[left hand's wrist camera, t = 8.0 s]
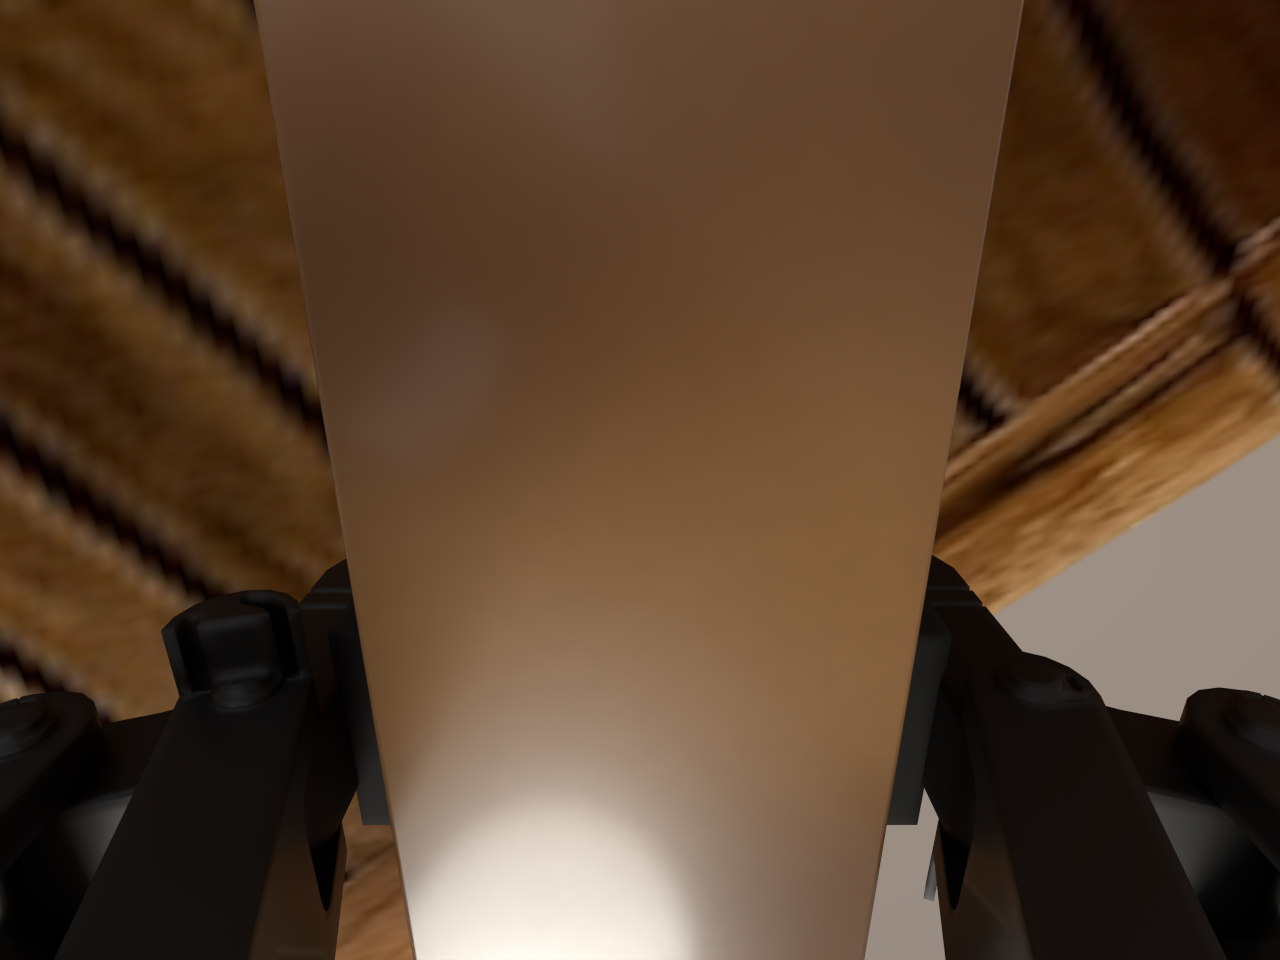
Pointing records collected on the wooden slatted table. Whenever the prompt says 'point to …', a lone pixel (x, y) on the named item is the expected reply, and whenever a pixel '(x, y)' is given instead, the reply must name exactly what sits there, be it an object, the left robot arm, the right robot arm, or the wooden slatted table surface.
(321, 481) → the wooden slatted table surface
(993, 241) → the wooden slatted table surface
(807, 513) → the bar
